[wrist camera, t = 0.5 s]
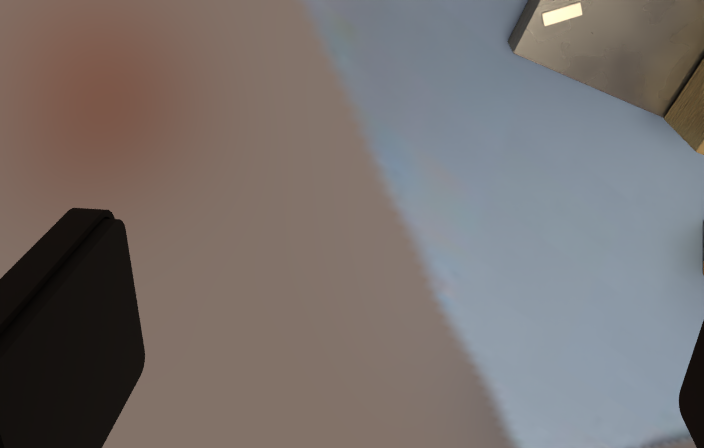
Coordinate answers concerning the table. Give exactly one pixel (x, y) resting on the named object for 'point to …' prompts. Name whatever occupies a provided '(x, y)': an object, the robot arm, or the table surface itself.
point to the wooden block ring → (690, 111)
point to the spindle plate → (617, 45)
